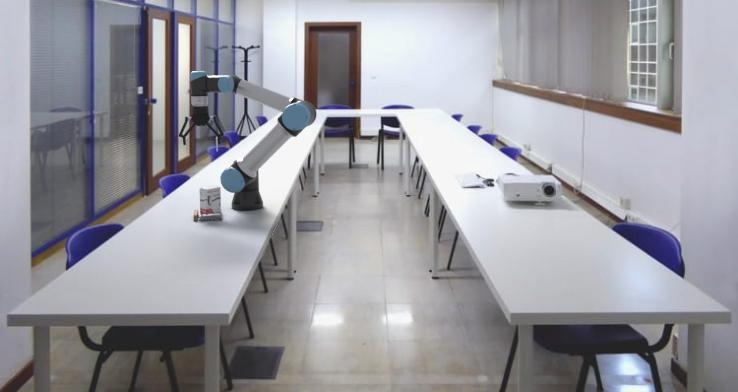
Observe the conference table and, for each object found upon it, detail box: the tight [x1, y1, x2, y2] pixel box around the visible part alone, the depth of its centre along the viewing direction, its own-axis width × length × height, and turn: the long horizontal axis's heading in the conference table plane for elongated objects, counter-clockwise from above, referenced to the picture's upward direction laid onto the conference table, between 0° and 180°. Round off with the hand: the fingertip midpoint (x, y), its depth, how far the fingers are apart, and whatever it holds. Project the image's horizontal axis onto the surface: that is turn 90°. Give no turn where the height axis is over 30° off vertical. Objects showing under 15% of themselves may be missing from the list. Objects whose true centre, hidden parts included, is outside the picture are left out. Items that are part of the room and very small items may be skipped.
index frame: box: [198, 210, 222, 222], centre depth 323 cm, size 10×14×2 cm
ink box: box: [199, 185, 222, 215], centre depth 322 cm, size 9×5×12 cm, turn 141°
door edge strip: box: [192, 209, 199, 222], centre depth 322 cm, size 2×12×2 cm, turn 11°
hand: (202, 151), depth 328 cm, fingers open, 13 cm apart
